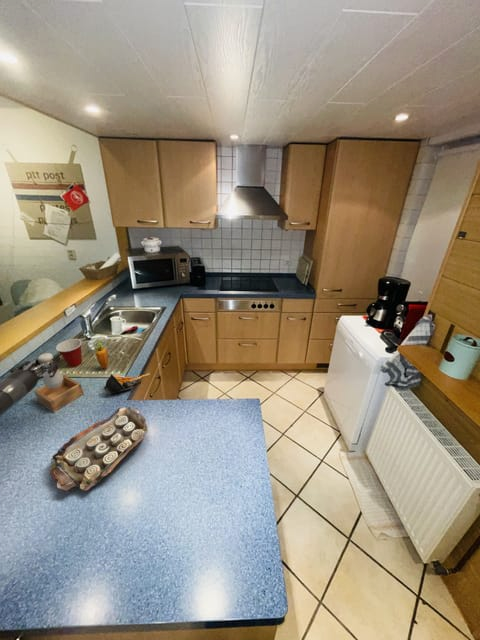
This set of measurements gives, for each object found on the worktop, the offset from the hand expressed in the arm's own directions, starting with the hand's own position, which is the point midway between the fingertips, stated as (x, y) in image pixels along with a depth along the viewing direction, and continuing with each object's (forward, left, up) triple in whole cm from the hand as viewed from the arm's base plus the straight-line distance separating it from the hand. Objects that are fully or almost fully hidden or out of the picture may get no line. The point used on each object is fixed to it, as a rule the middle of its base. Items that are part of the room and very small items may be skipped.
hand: (51, 357), depth 90 cm
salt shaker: (-2, -1, -11) cm, 11 cm away
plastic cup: (+19, +28, -25) cm, 42 cm away
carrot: (+24, +11, -25) cm, 36 cm away
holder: (+2, +9, -24) cm, 26 cm away
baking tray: (-5, -30, -25) cm, 39 cm away
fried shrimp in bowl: (+20, -10, -25) cm, 33 cm away
